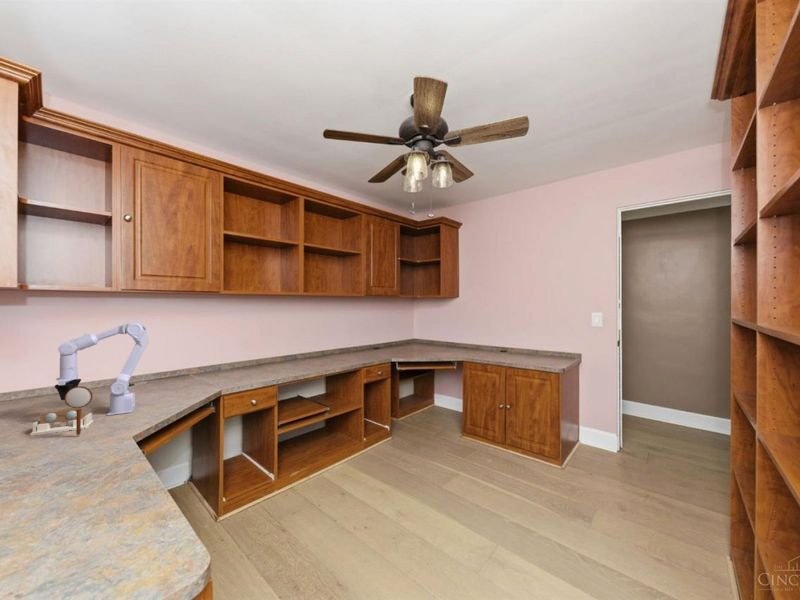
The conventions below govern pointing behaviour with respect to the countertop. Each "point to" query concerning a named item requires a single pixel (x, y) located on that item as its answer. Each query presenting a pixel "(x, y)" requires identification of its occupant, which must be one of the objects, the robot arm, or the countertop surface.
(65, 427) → the display stand
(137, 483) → the countertop surface
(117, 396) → the robot arm
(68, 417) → the tan wooden plank
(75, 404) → the magnifying glass
